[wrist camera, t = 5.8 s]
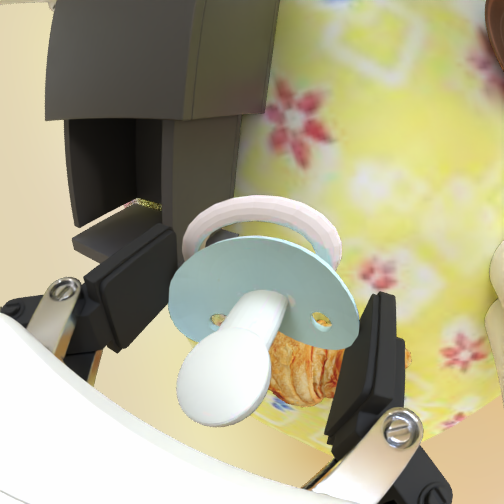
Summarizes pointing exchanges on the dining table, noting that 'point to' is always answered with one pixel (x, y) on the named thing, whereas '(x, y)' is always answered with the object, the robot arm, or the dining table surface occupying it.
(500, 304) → the vase
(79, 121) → the drawer
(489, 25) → the cup and saucer
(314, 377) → the croissant
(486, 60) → the dining table surface
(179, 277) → the pacifier
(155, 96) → the cabinet
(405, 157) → the dining table surface
